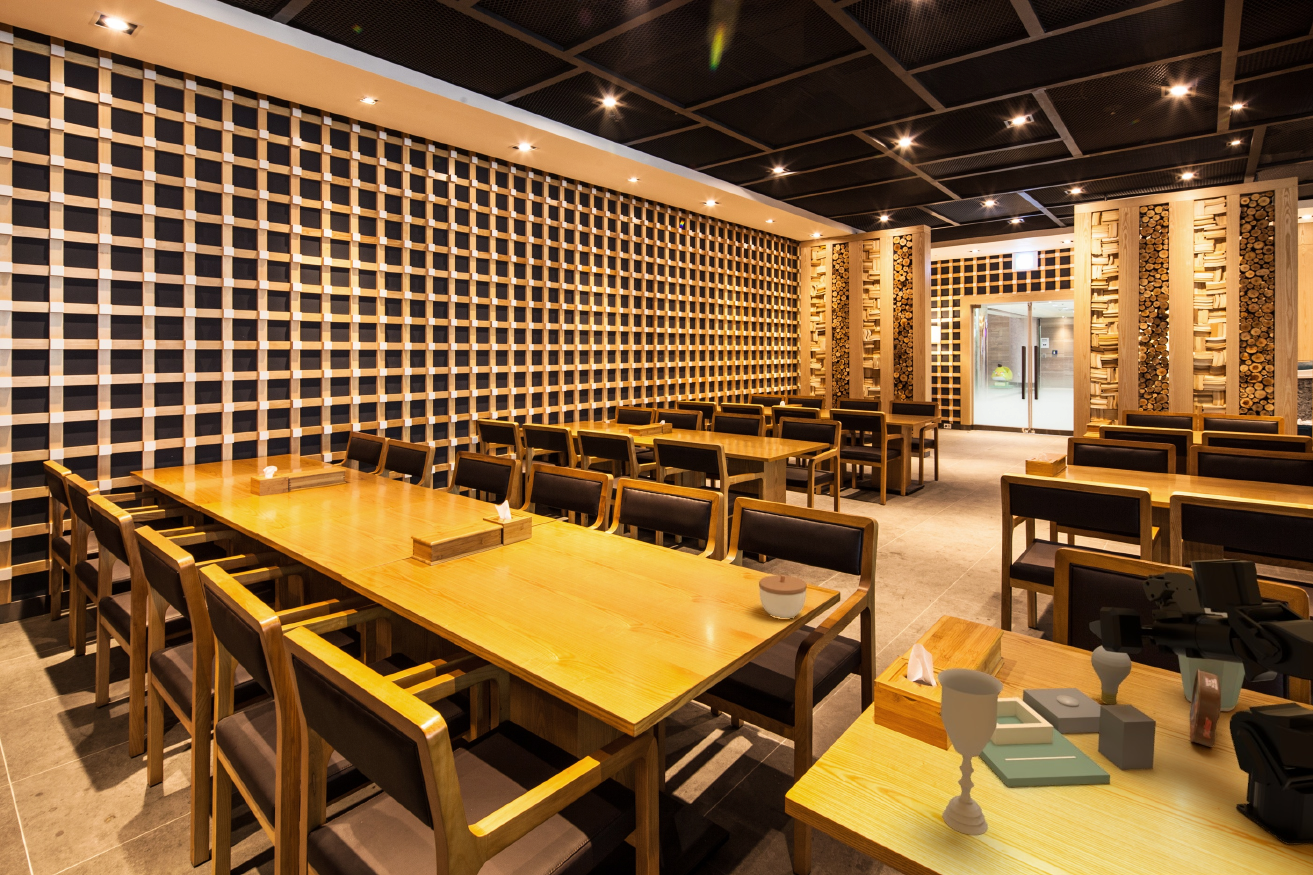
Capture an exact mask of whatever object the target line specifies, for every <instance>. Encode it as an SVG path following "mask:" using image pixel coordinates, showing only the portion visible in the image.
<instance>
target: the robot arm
mask: <svg viewBox="0 0 1313 875" xmlns="http://www.w3.org/2000/svg"><path fill="white" fill-rule="evenodd" d="M1189 562H1190V566H1191V570H1192V574H1193V575H1192V576H1191V575H1190V574H1189V573H1183V572H1182V573H1181V572H1171V571H1168V572H1167V571H1165V572H1163V573H1158V574H1148V575H1147V579H1146V580H1144V581H1143V583H1142V587H1143V590H1144V592H1145V595H1146V598H1147V600H1149V601H1150V602H1155V604H1156V607H1158V609H1152V610H1151V613H1152V619H1153V620H1155V621H1153V623H1152V624H1148V625H1143V626H1142V625H1141V615H1140V614H1139V613H1138V612H1137V611H1136V609H1135V608H1125V607H1111V606H1110V607H1108V606H1102V607H1101V608H1100V609H1099V619H1098V620H1095V621H1092V622H1091V621H1090V622H1089V630H1090V631H1091V632H1092V633H1093V634H1095V635H1096V636H1097V637H1098V638H1100V639H1101V646H1102V647H1103V648H1104V649H1105V650H1106V651H1109V652H1116V653H1127V654H1131V655H1132V654H1133V655H1134V654H1135V655H1138V654H1139V653H1140V652H1141V651H1142V650H1143V648H1144V647H1143V645H1147V646H1148V645H1149V646H1157V647H1158V654H1160V655H1170V656H1178V655H1182V656H1186V657H1188V658H1197V659H1211V660H1218V661H1226V662H1233V663H1240V664H1243V667H1244V671H1245V675H1244V677H1245V679H1246V680H1247V681H1248V682H1250V683H1251V682H1261V681H1262V682H1263V681H1272V680H1275V679H1276V677H1277V675H1278V674H1281V675H1285V676H1287V677H1293V678H1296V679H1300V680H1306V681H1310V682H1311V681H1312V682H1313V620H1311V619H1307V618H1305V617H1304V616H1303V615H1301V614H1299V613H1298V612H1296V611H1294V610H1293V609H1291V608H1290V607H1288V606H1287V605H1285V604H1284V603H1282V602H1279V601H1278V602H1263V599H1262V595H1261V590H1260V586H1259V582H1258V572H1257V571H1258V570H1257V566H1256V562H1255V561H1253V560H1241V559H1240V558H1235V559H1234V558H1231V559H1229V558H1228V559H1208V560H1207V559H1206V560H1205V559H1204V560H1190V561H1189ZM1204 608H1210V610H1211V612H1215V613H1227V617H1223V616H1222V615H1217V614H1211V613H1206V612H1205V609H1204ZM1147 636H1148V637H1147ZM1229 732H1230V737H1231V740H1232V744H1233V745H1232V746H1233V748H1234V752H1235V757H1236V760H1237V763H1238V767H1239V769H1240V770H1241V771H1242V772H1244V773H1246V774H1247V775H1248V777H1247V788H1246V801H1247V803H1236V807H1235V809H1236V810H1237V811H1239V812H1240V813H1242V814H1243V815H1245V817H1247V818H1248V819H1250V820H1251V821H1253V822H1254V823H1256V824H1257V825H1258V826H1259V827H1261V828H1262V829H1264V830H1266V831H1267V832H1268V833H1269V834H1272V836H1274V837H1275V838H1277V840H1279V841H1281V842H1283V843H1284V844H1287V845H1297V844H1298V845H1300V844H1301V845H1302V844H1313V709H1310V708H1307V707H1304V706H1302V705H1300V704H1298V703H1297V702H1294V701H1293V702H1286V703H1276V704H1274V703H1273V704H1266V705H1256V706H1248V709H1247V710H1237V711H1235V712H1234V714H1232V716H1231V717H1230V720H1229Z"/></svg>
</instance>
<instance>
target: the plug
mask: <svg viewBox="0 0 1313 875" xmlns="http://www.w3.org/2000/svg"><path fill="white" fill-rule="evenodd" d="M1156 724H1157V721H1156V720H1155V719H1153V718H1152V717H1150V716H1149V715H1147V714H1146V713H1145V712H1143V711H1141V710H1140V709H1138V708H1137V707H1135V706H1134V705H1132V704H1111V705H1107V704H1105V705H1101V707H1100V725H1099V732H1098V746H1097V752H1098V753H1099V754H1101V755H1102V756H1103V757H1104V758H1106V759H1107V760H1108V761H1109V762H1111V764H1113V765H1114V766H1116V767H1117V768H1118V769H1119V770H1121V771H1133V770H1137V771H1138V770H1153V769H1154V754H1155V741H1156V740H1155V739H1156V727H1157V725H1156Z"/></svg>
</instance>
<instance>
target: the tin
mask: <svg viewBox="0 0 1313 875" xmlns="http://www.w3.org/2000/svg"><path fill="white" fill-rule="evenodd" d="M1220 709H1221V689H1220V682H1219V677H1218V676H1217V675H1214V674H1211V673H1207V672H1204V671H1200V670H1199V669H1198V670H1197V672H1196V676H1195V681H1194V686H1193V693H1192V701H1191V702H1190V708H1189V742H1191V743H1196V744H1199V745H1203V746H1206V747H1209V748H1213V747H1214V746H1215V744H1216V740H1217V737H1216V731H1217V725H1218V722H1219V719H1220V715H1221V711H1220Z"/></svg>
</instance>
